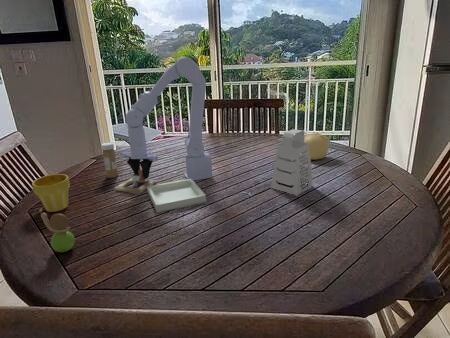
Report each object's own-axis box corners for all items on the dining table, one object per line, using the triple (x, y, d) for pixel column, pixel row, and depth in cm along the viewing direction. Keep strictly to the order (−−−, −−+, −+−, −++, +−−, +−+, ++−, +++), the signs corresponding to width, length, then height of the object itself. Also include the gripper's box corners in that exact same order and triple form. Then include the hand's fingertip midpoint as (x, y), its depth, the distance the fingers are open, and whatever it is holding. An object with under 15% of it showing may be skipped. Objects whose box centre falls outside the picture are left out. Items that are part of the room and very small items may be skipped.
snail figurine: (54, 245, 88) (43, 204, 83) (79, 243, 88) (70, 202, 84) (45, 257, 82) (34, 214, 78) (72, 255, 83) (62, 212, 79)
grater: (312, 186, 117) (316, 130, 110) (296, 196, 110) (299, 137, 103) (287, 179, 124) (289, 126, 117) (270, 188, 117) (271, 132, 110)
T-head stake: (129, 186, 123) (127, 175, 121) (132, 184, 124) (130, 173, 123) (139, 188, 121) (137, 176, 120) (142, 186, 123) (140, 174, 121)
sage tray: (191, 184, 122) (191, 178, 121) (206, 202, 108) (205, 195, 107) (147, 193, 117) (146, 186, 116) (156, 212, 103) (156, 205, 102)
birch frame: (138, 194, 116) (137, 180, 115) (114, 190, 120) (112, 177, 118) (155, 182, 125) (154, 170, 124) (132, 179, 129) (131, 167, 127)
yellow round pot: (331, 155, 148) (333, 131, 144) (322, 163, 138) (324, 138, 135) (306, 152, 154) (307, 129, 150) (296, 159, 144) (297, 135, 141)
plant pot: (38, 218, 102) (31, 188, 99) (39, 205, 111) (32, 177, 107) (75, 210, 107) (69, 181, 103) (72, 198, 115) (67, 171, 112)
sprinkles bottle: (119, 176, 133) (114, 143, 128) (108, 179, 130) (102, 146, 126) (116, 173, 136) (111, 141, 132) (105, 175, 134) (99, 143, 129)
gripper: (114, 143, 120) (119, 178, 125) (147, 147, 115) (152, 183, 120) (126, 138, 126) (131, 172, 131) (159, 141, 121) (163, 176, 126)
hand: (142, 177), depth 126 cm, fingers open, 3 cm apart
